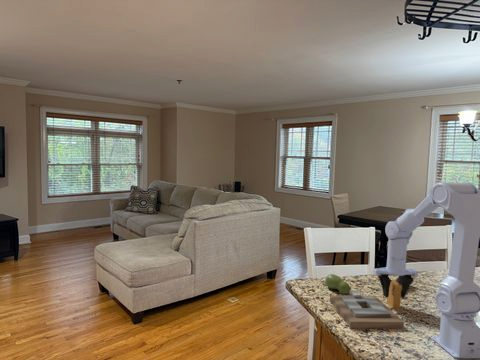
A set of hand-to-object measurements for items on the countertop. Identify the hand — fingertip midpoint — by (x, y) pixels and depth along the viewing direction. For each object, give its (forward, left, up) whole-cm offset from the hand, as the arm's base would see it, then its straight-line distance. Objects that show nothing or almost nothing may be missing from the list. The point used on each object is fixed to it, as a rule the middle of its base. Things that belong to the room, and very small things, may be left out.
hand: (393, 296), depth 111 cm
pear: (+12, +15, -4) cm, 20 cm away
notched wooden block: (0, 0, -3) cm, 3 cm away
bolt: (+14, -10, -4) cm, 17 cm away
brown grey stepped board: (-6, +13, -3) cm, 15 cm away
